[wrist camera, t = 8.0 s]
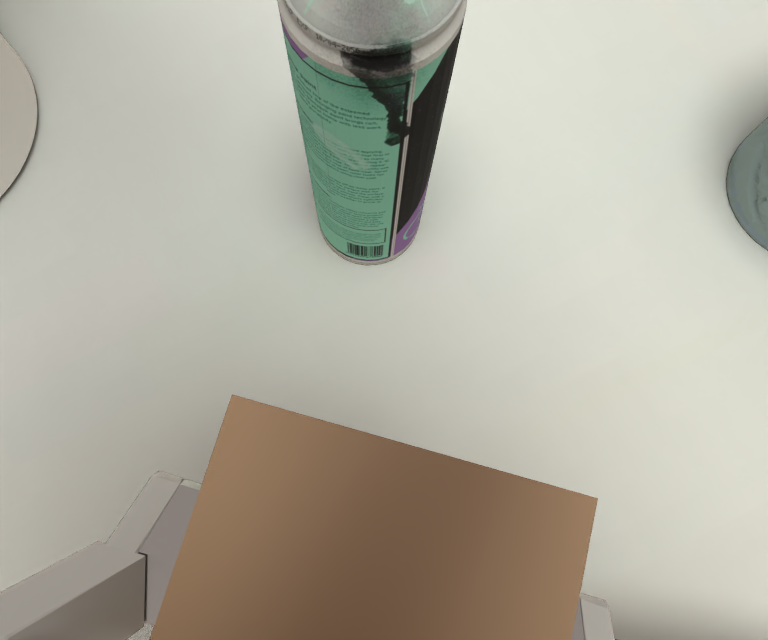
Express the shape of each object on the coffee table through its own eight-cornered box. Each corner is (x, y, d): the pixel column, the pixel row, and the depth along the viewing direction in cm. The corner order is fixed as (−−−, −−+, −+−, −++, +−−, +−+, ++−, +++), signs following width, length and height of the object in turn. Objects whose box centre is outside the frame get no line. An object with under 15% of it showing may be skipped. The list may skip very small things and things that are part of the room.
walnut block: (232, 634, 15) (90, 815, 7) (295, 430, 16) (231, 394, 8) (434, 694, 15) (514, 945, 7) (483, 483, 16) (598, 498, 8)
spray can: (437, 236, 34) (534, -78, 15) (349, 283, 33) (327, 19, 14) (387, 156, 35) (415, -237, 16) (301, 200, 34) (216, -155, 15)
